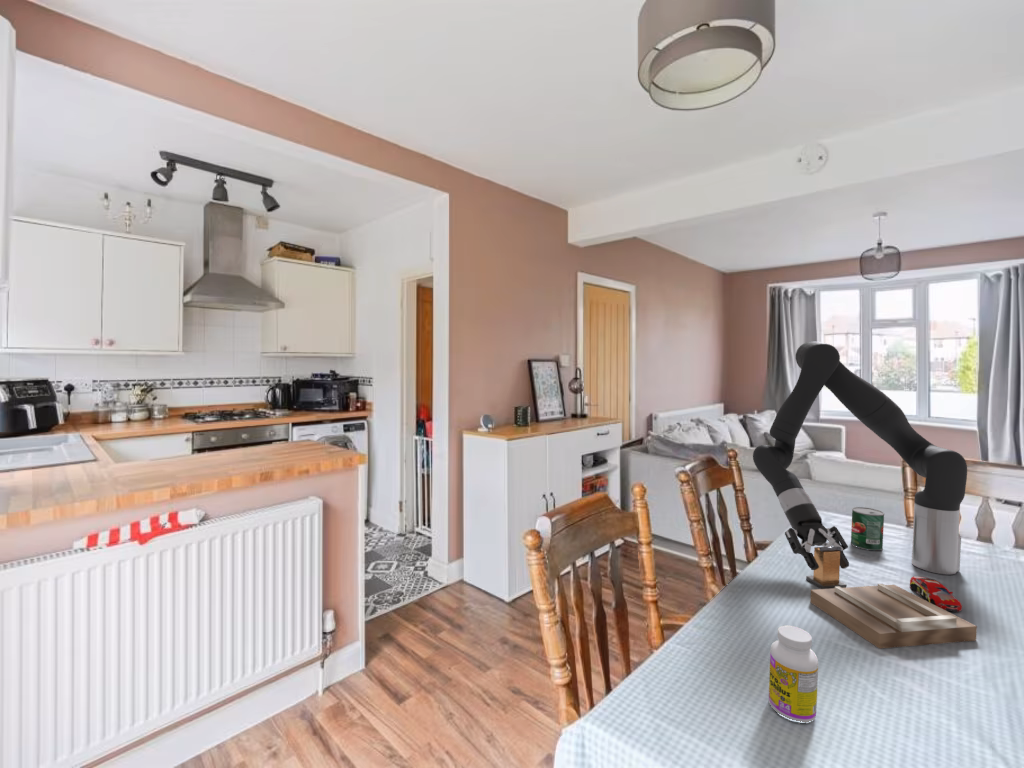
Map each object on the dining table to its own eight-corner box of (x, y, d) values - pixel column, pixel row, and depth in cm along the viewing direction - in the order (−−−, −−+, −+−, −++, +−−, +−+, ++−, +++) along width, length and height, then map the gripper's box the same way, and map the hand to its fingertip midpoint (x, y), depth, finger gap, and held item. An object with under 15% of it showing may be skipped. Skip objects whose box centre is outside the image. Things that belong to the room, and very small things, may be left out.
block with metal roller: (828, 578, 123) (830, 540, 123) (846, 588, 118) (847, 549, 117) (806, 579, 122) (807, 541, 122) (823, 590, 117) (824, 550, 116)
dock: (893, 596, 113) (894, 576, 113) (976, 640, 96) (977, 616, 95) (810, 602, 111) (811, 581, 110) (879, 648, 93) (880, 623, 93)
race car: (966, 616, 105) (967, 599, 105) (937, 612, 107) (938, 595, 107) (932, 588, 118) (932, 573, 118) (906, 585, 120) (907, 570, 119)
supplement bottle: (759, 696, 79) (761, 622, 79) (796, 694, 80) (799, 620, 79) (786, 727, 73) (788, 646, 72) (826, 725, 73) (829, 644, 73)
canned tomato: (844, 542, 148) (845, 507, 147) (864, 540, 150) (865, 506, 149) (868, 552, 140) (870, 515, 140) (889, 550, 142) (891, 513, 141)
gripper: (782, 503, 126) (813, 563, 115) (830, 501, 127) (866, 561, 117) (768, 516, 131) (796, 575, 120) (814, 514, 133) (847, 572, 122)
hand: (830, 568), depth 118 cm, fingers open, 8 cm apart
